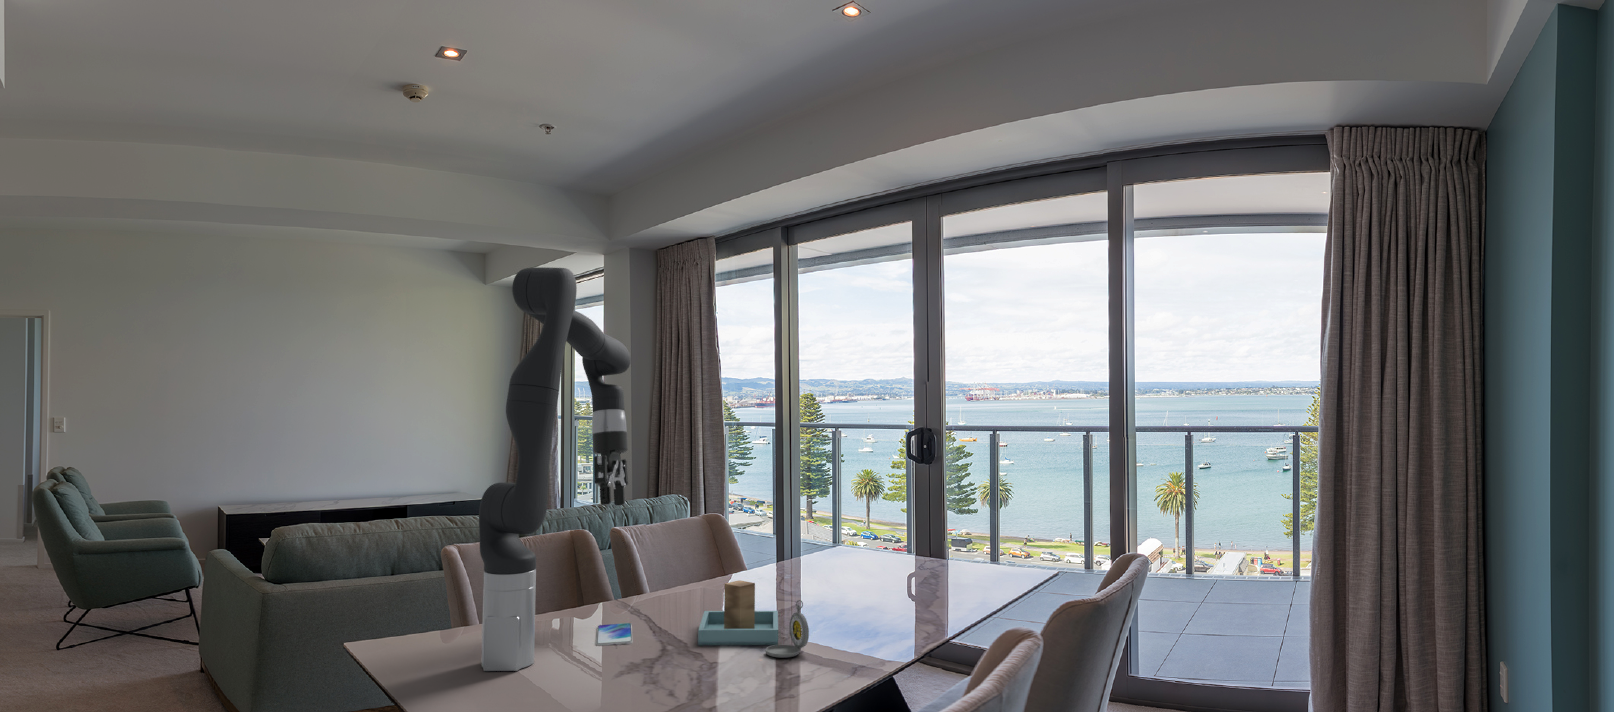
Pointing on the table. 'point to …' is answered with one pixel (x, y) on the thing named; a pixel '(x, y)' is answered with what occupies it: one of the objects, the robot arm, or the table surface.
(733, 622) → the walnut block
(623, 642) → the smartphone
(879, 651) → the table surface
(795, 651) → the pocket watch
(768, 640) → the tray
